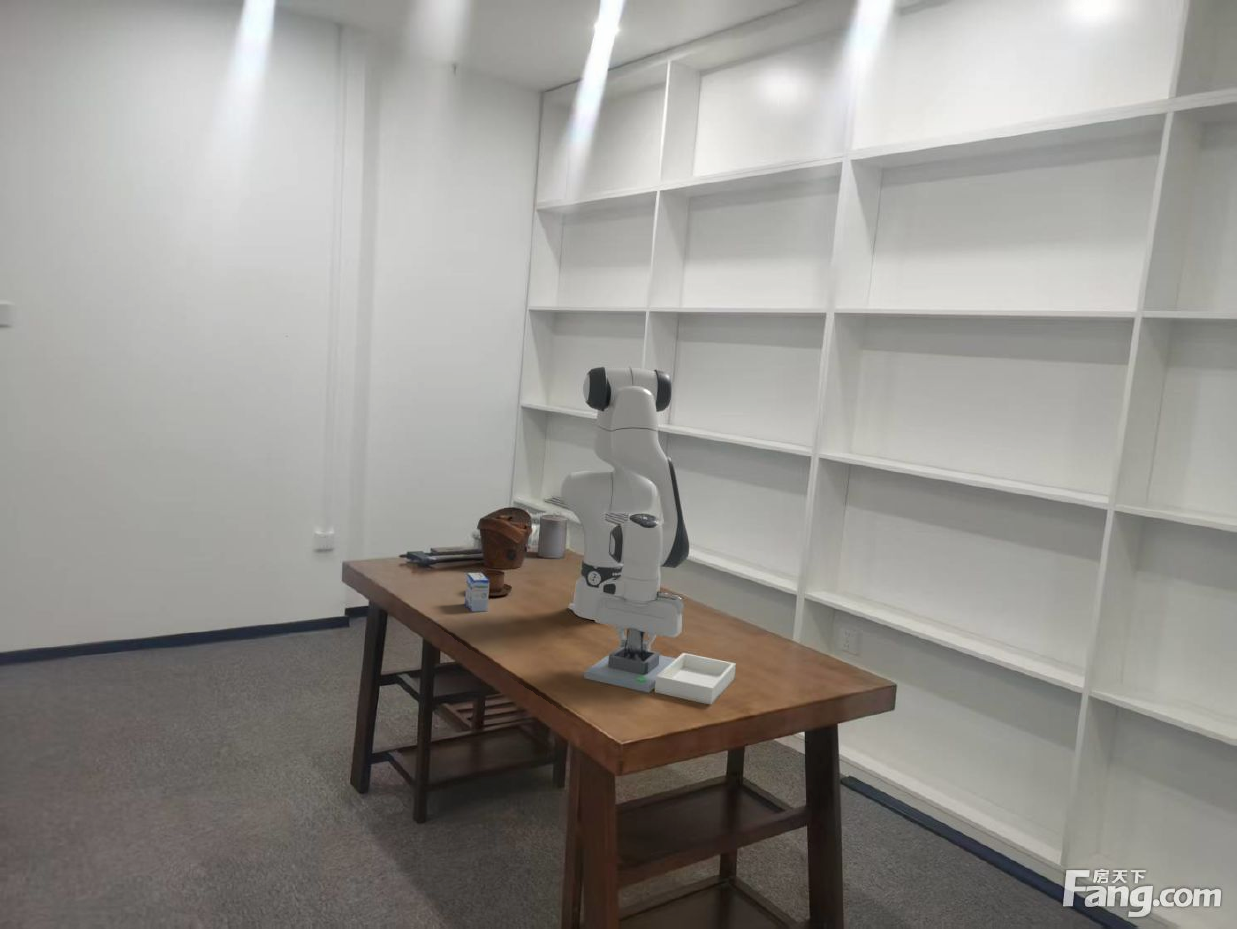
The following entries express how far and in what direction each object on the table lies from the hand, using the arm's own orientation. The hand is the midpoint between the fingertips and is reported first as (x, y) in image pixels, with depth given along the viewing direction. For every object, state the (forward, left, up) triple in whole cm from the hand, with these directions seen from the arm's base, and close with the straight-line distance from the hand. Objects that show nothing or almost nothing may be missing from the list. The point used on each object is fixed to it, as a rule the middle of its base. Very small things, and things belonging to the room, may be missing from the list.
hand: (634, 648), depth 197 cm
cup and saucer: (-37, -59, -6) cm, 70 cm away
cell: (0, 0, -3) cm, 3 cm away
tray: (0, +15, -5) cm, 16 cm away
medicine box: (-22, -54, -6) cm, 59 cm away
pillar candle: (-92, -67, -6) cm, 114 cm away
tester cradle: (0, 0, -5) cm, 5 cm away
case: (-69, -73, -6) cm, 101 cm away
